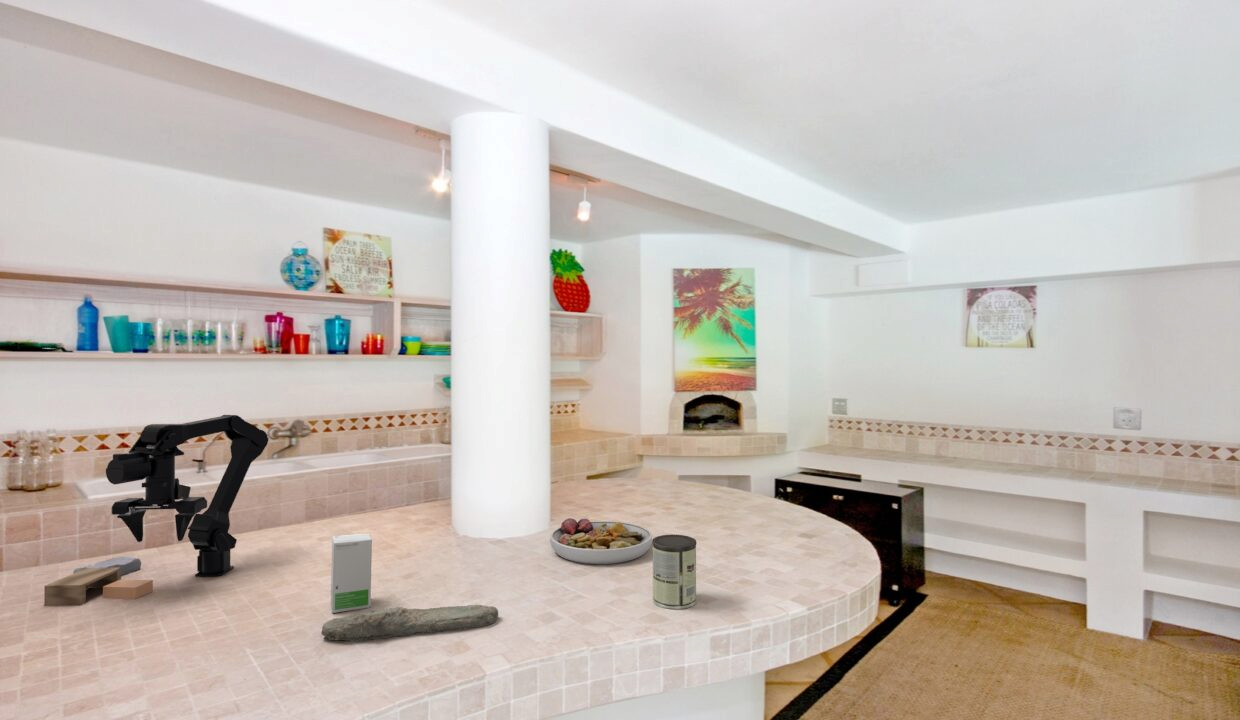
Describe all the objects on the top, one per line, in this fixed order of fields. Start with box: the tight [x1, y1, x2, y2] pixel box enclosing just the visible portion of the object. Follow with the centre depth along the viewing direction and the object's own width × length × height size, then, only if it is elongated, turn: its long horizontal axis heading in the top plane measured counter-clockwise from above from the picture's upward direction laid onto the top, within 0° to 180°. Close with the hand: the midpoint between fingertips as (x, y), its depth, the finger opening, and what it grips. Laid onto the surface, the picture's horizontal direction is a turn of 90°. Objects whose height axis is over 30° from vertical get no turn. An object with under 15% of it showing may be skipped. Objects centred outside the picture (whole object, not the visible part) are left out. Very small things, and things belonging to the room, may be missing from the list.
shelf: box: [43, 567, 122, 607], centre depth 146 cm, size 8×12×4 cm, turn 3°
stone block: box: [72, 555, 142, 577], centre depth 160 cm, size 12×5×10 cm
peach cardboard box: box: [102, 578, 154, 600], centre depth 146 cm, size 8×5×3 cm, turn 87°
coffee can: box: [651, 534, 697, 610], centre depth 143 cm, size 10×10×14 cm
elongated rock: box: [320, 604, 499, 642], centre depth 128 cm, size 35×5×10 cm
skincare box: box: [330, 533, 373, 614], centre depth 140 cm, size 8×7×16 cm
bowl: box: [549, 517, 653, 565], centre depth 181 cm, size 30×30×8 cm
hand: (160, 541), depth 148 cm, fingers open, 9 cm apart
